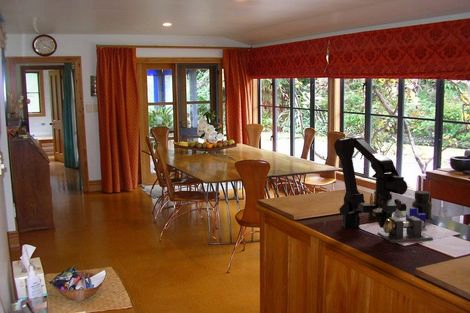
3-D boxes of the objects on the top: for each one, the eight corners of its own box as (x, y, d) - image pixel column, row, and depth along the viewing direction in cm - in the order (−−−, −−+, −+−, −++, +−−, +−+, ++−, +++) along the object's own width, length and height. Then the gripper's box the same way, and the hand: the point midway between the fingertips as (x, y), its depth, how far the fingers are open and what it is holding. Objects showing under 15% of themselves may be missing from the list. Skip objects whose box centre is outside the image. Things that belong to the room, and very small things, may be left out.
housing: (391, 242, 202) (392, 223, 201) (377, 233, 214) (378, 216, 213) (432, 239, 205) (433, 221, 204) (416, 231, 217) (417, 214, 216)
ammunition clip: (391, 217, 240) (391, 192, 238) (392, 218, 238) (393, 193, 237) (368, 217, 240) (369, 192, 239) (369, 218, 239) (370, 193, 237)
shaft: (389, 234, 205) (389, 221, 204) (382, 230, 210) (383, 217, 209) (426, 232, 208) (426, 219, 207) (418, 228, 213) (419, 215, 212)
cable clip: (405, 220, 235) (406, 207, 234) (415, 220, 235) (416, 207, 234) (415, 227, 223) (415, 214, 223) (425, 227, 223) (425, 214, 223)
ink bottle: (411, 213, 247) (412, 189, 245) (431, 215, 244) (432, 190, 242) (411, 218, 238) (412, 193, 236) (431, 220, 235) (432, 194, 233)
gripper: (369, 195, 195) (368, 234, 197) (414, 193, 198) (412, 231, 201) (357, 189, 206) (356, 226, 208) (400, 187, 209) (399, 224, 211)
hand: (381, 227), depth 207 cm, fingers closed
